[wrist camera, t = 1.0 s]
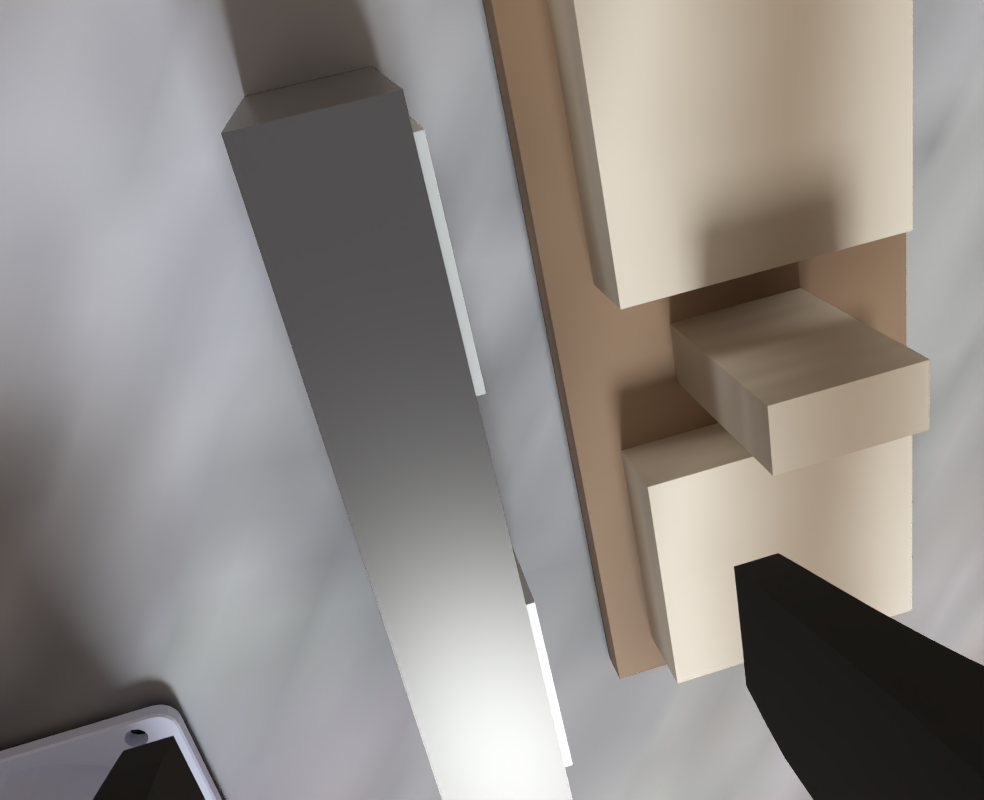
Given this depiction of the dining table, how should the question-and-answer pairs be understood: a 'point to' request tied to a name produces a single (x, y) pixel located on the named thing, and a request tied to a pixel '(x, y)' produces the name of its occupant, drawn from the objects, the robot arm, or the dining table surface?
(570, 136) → the display stand
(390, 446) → the grey upright panel
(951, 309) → the dining table surface
